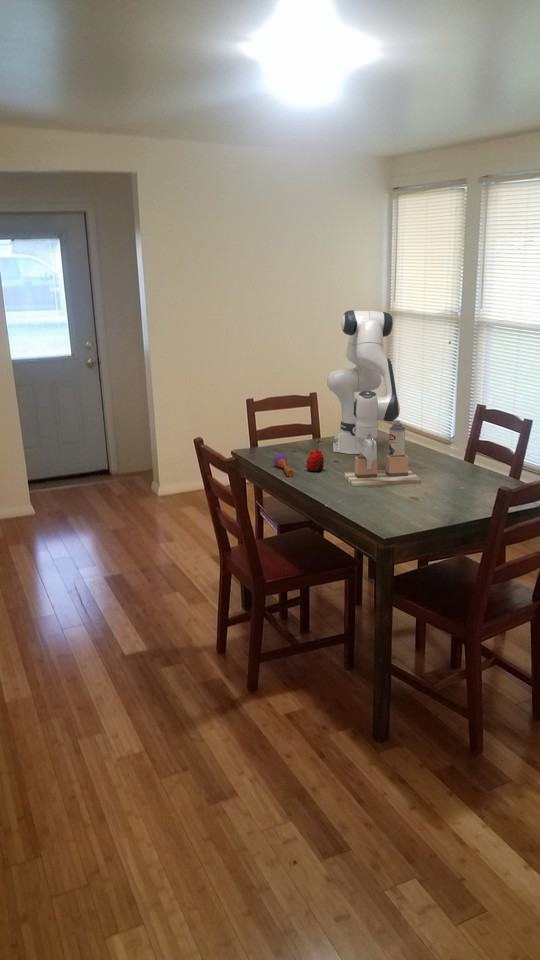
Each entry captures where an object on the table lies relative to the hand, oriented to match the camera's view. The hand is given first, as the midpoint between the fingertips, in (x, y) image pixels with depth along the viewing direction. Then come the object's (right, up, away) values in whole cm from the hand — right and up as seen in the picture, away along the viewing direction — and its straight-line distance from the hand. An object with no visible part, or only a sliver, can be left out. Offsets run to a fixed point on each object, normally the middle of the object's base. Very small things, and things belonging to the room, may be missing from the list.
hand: (365, 465), depth 301 cm
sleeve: (0, -5, +1) cm, 5 cm away
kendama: (-33, -2, +17) cm, 37 cm away
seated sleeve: (+13, -4, +3) cm, 14 cm away
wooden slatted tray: (+7, -6, +2) cm, 9 cm away
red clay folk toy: (-19, -2, +17) cm, 26 cm away
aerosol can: (+16, 0, +22) cm, 27 cm away
